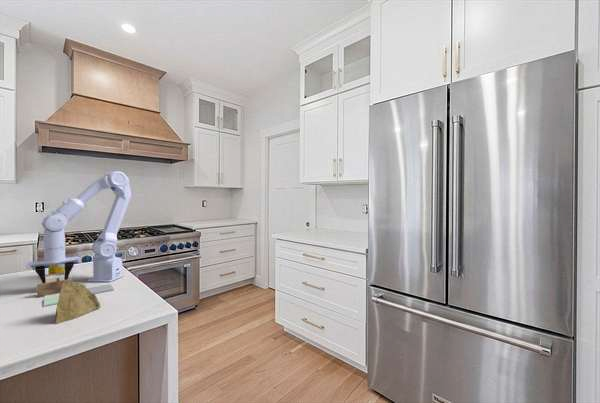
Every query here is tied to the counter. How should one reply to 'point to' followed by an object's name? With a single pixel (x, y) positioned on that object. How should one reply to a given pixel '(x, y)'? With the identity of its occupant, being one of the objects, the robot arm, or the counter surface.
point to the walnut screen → (50, 288)
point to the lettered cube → (55, 277)
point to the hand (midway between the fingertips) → (55, 284)
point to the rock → (74, 301)
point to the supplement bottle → (57, 269)
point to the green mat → (51, 301)
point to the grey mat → (100, 289)
